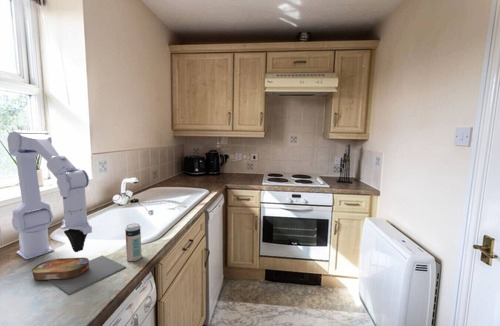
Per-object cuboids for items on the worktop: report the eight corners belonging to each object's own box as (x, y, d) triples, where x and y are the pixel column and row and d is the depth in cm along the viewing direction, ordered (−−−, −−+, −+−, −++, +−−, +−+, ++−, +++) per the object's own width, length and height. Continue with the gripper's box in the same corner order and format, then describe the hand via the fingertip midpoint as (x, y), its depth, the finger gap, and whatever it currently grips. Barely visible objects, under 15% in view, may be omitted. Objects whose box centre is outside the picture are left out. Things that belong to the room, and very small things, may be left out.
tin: (94, 257, 79) (77, 269, 70) (95, 266, 79) (77, 279, 70) (47, 258, 78) (23, 271, 70) (47, 268, 78) (24, 281, 70)
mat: (46, 278, 72) (46, 277, 72) (102, 256, 86) (102, 255, 86) (69, 295, 65) (68, 293, 65) (125, 267, 78) (125, 266, 78)
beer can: (132, 254, 87) (131, 222, 86) (144, 256, 86) (143, 223, 85) (123, 261, 82) (121, 227, 81) (135, 263, 81) (134, 228, 80)
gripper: (49, 208, 76) (53, 250, 78) (71, 216, 69) (75, 262, 70) (75, 203, 82) (77, 241, 84) (97, 210, 75) (100, 252, 76)
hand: (78, 250), depth 77 cm, fingers closed
